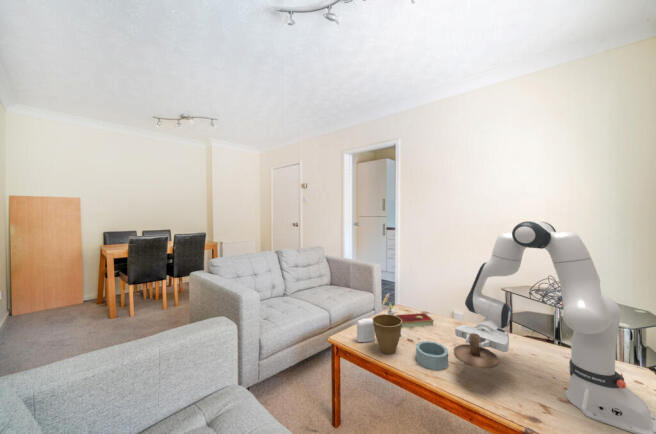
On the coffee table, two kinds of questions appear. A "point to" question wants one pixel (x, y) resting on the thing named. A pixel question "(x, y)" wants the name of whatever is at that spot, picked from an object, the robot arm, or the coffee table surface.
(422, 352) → the ceramic bowl
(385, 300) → the flower in vase
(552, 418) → the coffee table surface
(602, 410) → the robot arm
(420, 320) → the hardcover book
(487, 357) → the walnut lid
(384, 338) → the plant pot
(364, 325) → the photo printer
